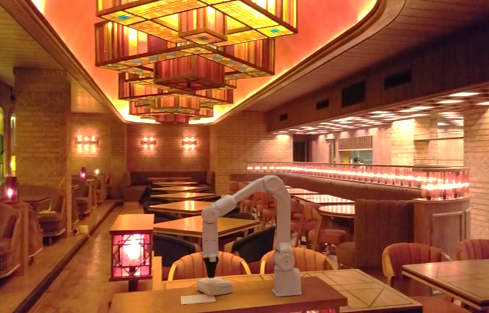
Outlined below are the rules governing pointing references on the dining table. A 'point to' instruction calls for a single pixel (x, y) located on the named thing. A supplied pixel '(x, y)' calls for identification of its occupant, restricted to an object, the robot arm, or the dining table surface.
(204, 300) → the mat
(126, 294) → the dining table surface
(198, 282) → the photo printer
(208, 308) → the dining table surface
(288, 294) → the robot arm
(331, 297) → the dining table surface
